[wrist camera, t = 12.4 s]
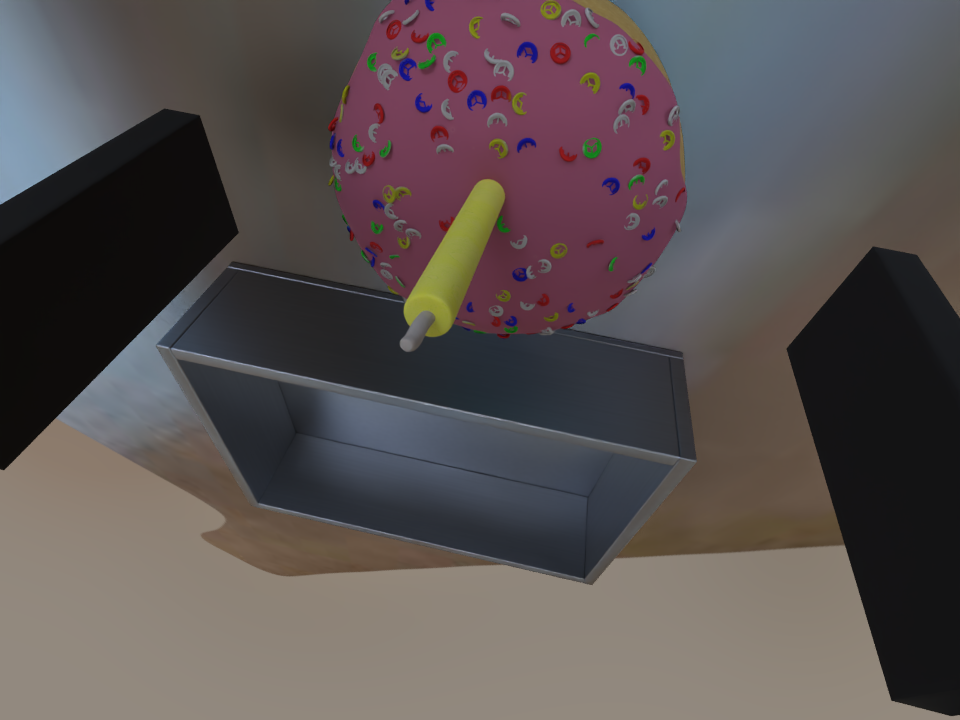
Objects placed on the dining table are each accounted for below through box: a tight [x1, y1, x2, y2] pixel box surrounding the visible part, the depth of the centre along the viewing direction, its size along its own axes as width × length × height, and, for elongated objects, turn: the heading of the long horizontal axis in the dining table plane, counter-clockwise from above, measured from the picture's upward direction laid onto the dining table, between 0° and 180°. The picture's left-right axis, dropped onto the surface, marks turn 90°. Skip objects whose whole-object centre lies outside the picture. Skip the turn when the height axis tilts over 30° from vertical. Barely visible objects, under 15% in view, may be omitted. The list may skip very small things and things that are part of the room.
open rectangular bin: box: [156, 262, 697, 585], centre depth 24 cm, size 20×14×5 cm
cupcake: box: [328, 0, 687, 352], centre depth 11 cm, size 9×8×12 cm
